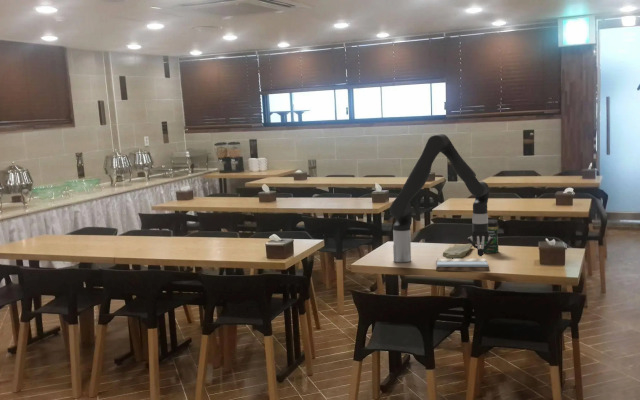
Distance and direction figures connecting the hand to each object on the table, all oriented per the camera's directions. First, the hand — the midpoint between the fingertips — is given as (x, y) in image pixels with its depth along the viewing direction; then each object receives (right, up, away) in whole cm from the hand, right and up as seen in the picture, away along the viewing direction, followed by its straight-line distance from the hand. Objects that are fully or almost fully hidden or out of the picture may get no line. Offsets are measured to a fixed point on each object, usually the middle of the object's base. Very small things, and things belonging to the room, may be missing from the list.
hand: (480, 256), depth 308 cm
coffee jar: (+16, -2, +40) cm, 43 cm away
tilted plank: (-8, -5, +5) cm, 11 cm away
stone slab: (-2, -3, +41) cm, 41 cm away
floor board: (-8, -6, +8) cm, 13 cm away
